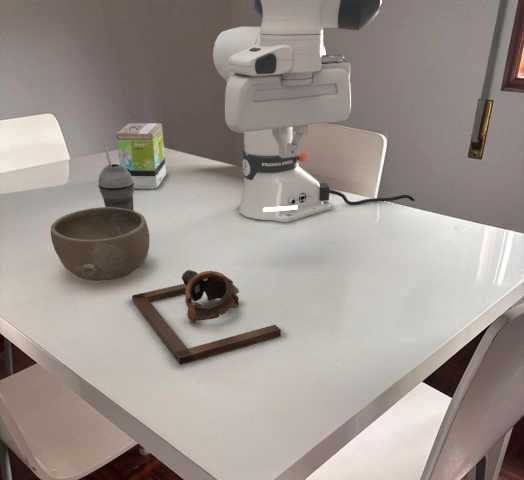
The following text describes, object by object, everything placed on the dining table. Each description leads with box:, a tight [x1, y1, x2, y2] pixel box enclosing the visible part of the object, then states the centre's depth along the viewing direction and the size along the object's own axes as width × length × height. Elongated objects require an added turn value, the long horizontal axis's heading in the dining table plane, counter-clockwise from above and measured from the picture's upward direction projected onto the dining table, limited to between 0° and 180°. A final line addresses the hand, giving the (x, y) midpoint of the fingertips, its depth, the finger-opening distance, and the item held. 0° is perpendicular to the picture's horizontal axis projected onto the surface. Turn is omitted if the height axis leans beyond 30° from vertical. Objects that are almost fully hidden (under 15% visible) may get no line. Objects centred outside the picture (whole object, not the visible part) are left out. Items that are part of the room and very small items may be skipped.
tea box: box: [115, 122, 167, 190], centre depth 156 cm, size 15×10×15 cm, turn 179°
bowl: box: [50, 206, 150, 282], centre depth 105 cm, size 17×18×10 cm
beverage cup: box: [98, 141, 135, 211], centre depth 118 cm, size 7×7×20 cm
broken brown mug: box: [181, 269, 240, 324], centre depth 92 cm, size 12×10×8 cm
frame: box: [131, 278, 282, 366], centre depth 91 cm, size 16×23×1 cm
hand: (289, 156), depth 88 cm, fingers closed
